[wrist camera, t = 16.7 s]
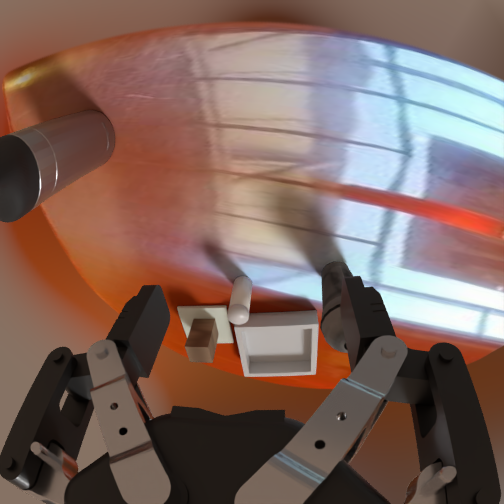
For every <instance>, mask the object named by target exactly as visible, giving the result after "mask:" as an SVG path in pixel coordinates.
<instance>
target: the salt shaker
mask: <svg viewBox="0 0 504 504" xmlns="http://www.w3.org/2000/svg"><path fill="white" fill-rule="evenodd" d="M251 291H252V281H251V280H250V279H249V278H248V277H245V276H239V277H237V278H236V279H235V280H234V284H233V289H232V294H231V300H230V305H229V309H228V313H227V318H228V320H229V321H230V322H232V323H233V324H238V325H240V324H244V323H246V322H247V321H248V319H249V308H250V299H251Z"/></svg>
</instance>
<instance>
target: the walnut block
mask: <svg viewBox="0 0 504 504" xmlns="http://www.w3.org/2000/svg"><path fill="white" fill-rule="evenodd" d="M218 335H219V333H218V329H217V325H216V320H215V319H193V322H192V326H191V329H190V332H189V335H188V338H187V341H186V344H185V349H186V351H187V354H188V357H189V360H190V362H205V363H213V358H214V354H215V349H216V345H217V340H218Z"/></svg>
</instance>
